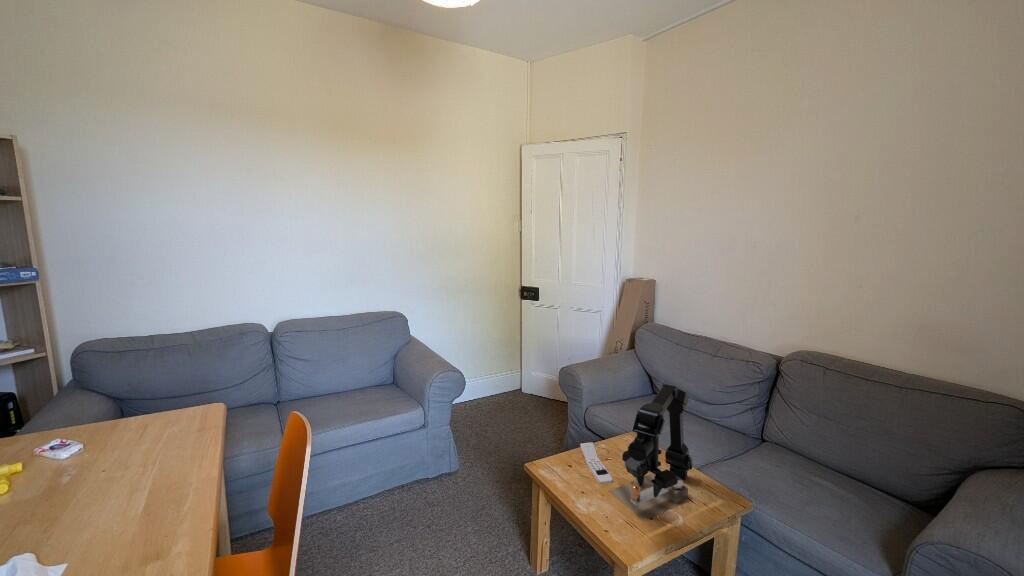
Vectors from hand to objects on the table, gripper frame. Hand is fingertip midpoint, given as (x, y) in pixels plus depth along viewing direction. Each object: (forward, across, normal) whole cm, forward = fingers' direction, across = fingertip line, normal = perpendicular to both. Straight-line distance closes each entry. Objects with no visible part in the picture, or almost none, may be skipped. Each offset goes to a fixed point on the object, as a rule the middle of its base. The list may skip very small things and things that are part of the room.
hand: (647, 491), depth 134 cm
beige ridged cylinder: (+12, -17, +12) cm, 24 cm away
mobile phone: (+14, -34, +6) cm, 37 cm away
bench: (+13, -10, +11) cm, 20 cm away
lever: (+7, -5, +10) cm, 13 cm away
